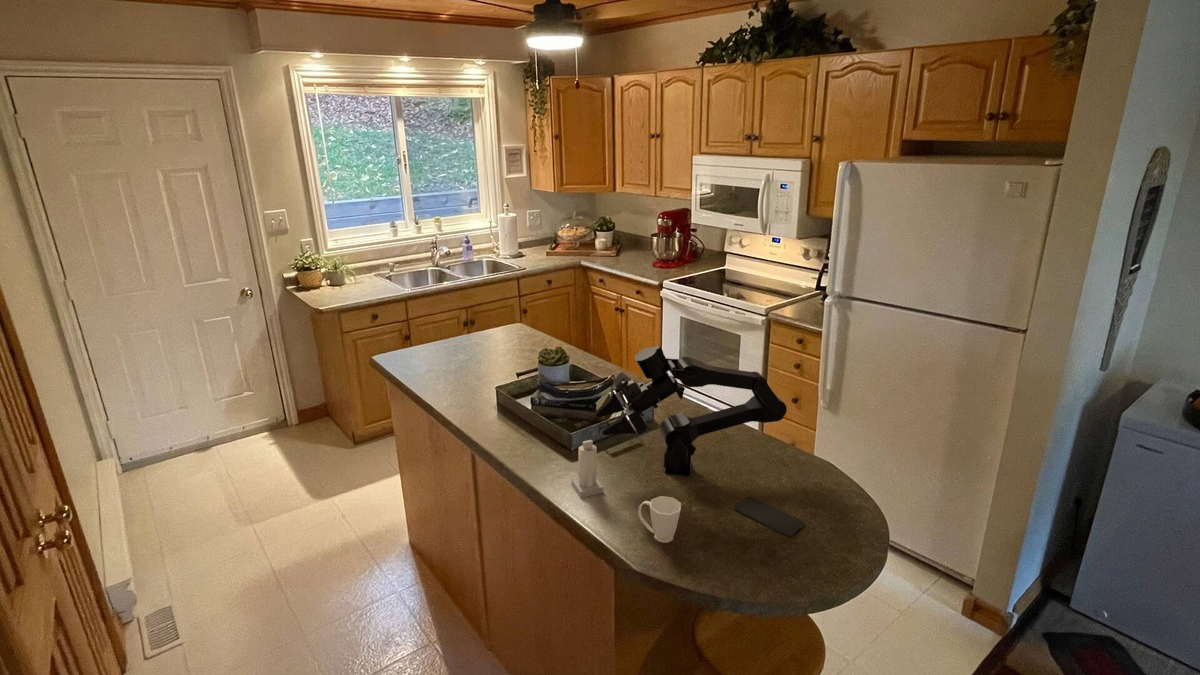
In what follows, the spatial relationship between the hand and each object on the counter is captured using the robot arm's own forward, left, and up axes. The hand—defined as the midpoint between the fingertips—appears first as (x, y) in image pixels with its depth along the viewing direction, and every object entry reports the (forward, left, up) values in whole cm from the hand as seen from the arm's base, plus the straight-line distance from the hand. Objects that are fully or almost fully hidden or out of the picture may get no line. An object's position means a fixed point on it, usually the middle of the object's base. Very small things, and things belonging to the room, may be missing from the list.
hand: (599, 424), depth 155 cm
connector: (+2, +6, -15) cm, 16 cm away
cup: (-17, +20, -15) cm, 30 cm away
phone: (-41, +8, -15) cm, 45 cm away
